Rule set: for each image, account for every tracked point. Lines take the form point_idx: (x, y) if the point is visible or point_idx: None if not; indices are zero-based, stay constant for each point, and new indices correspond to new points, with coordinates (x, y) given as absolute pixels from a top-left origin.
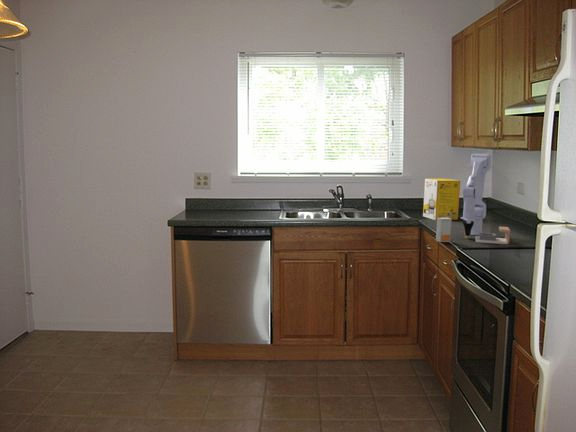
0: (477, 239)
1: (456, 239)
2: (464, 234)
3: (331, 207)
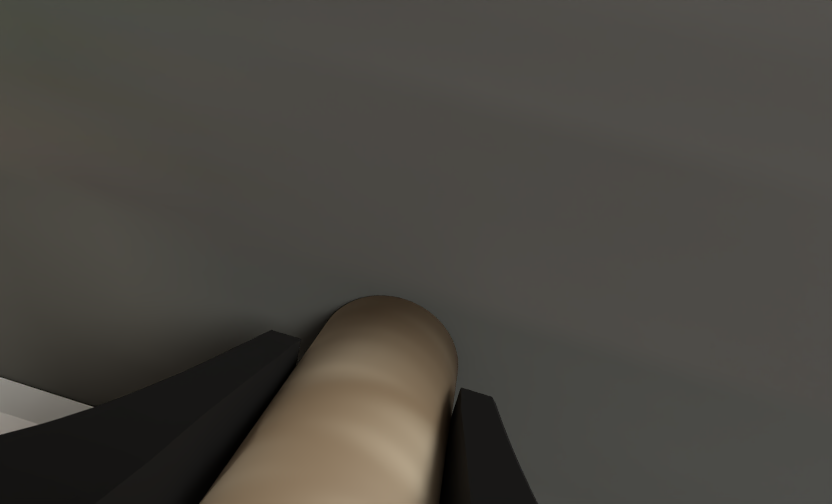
0: None
1: (163, 42)
2: (356, 339)
3: None
